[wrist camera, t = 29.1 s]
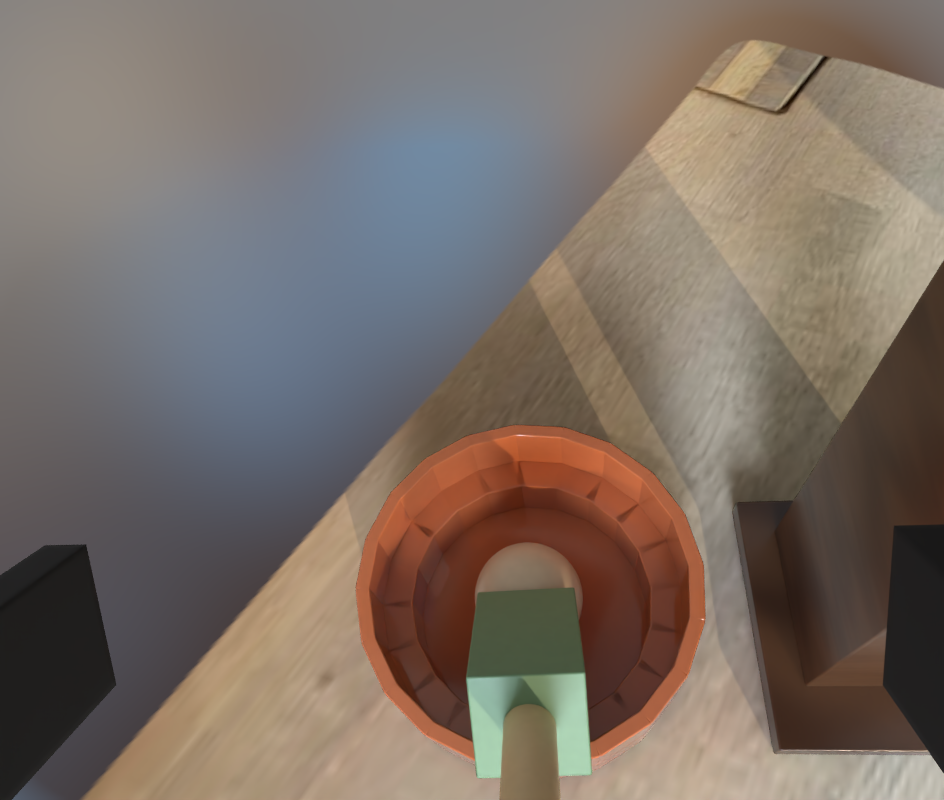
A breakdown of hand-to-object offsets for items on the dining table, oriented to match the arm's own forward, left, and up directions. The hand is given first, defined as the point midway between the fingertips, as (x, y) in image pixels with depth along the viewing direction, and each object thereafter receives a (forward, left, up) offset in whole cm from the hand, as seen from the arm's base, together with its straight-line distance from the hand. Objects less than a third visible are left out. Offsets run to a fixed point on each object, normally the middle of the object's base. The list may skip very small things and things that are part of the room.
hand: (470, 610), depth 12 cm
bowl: (-3, -5, -24) cm, 25 cm away
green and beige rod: (+1, +2, -16) cm, 16 cm away
